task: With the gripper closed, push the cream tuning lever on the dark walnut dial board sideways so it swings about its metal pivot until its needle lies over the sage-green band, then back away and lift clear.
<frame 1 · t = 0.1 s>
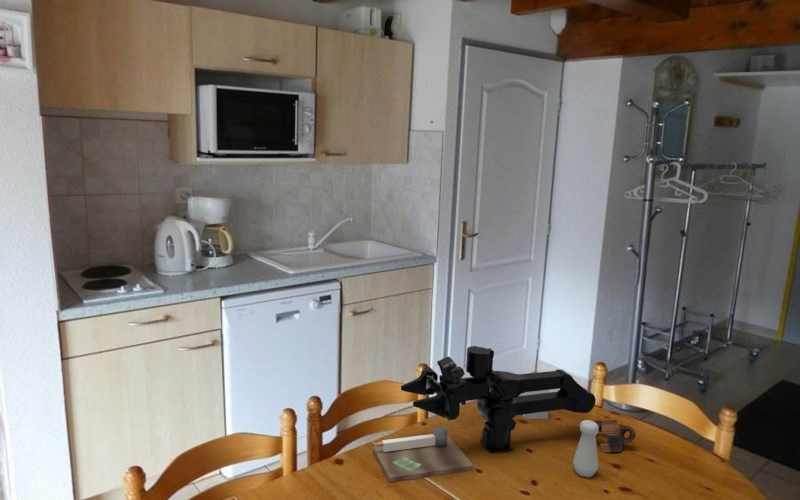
hand: (406, 395, 141), 17 cm above the table, tool horizontal, fingers open, 9 cm apart
grey block: (534, 416, 170), on the table
salt shaker: (584, 473, 141), on the table
pottery mug: (609, 445, 155), on the table
tuning lever: (412, 440, 147), point 3 cm above the table, hinge at 0.0°
dial board: (421, 460, 144), on the table
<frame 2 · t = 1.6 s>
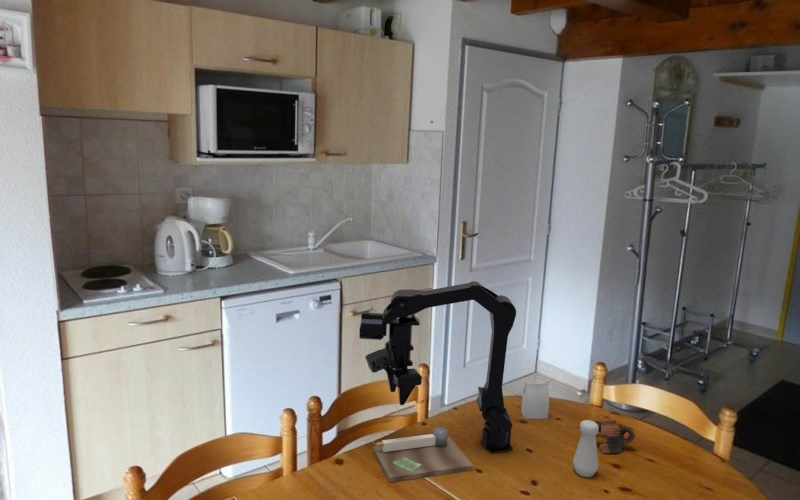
hand: (397, 398, 150), 12 cm above the table, tool pointing down, fingers open, 8 cm apart
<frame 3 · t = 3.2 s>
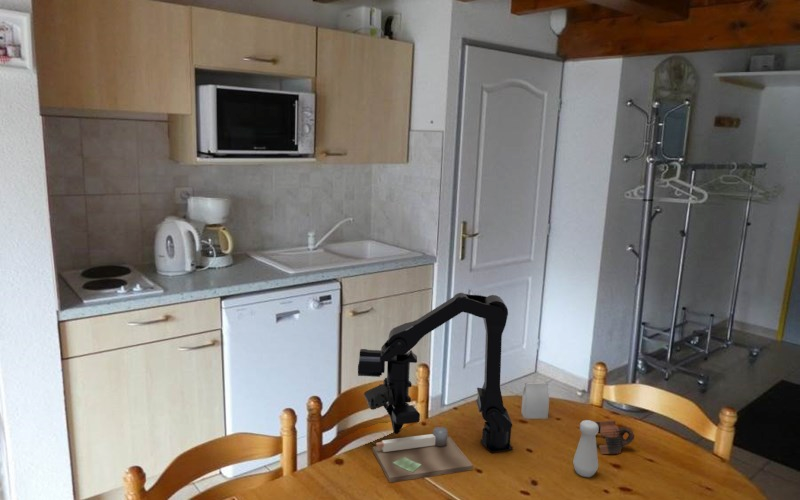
hand: (396, 433, 152), 2 cm above the table, tool pointing down, fingers closed
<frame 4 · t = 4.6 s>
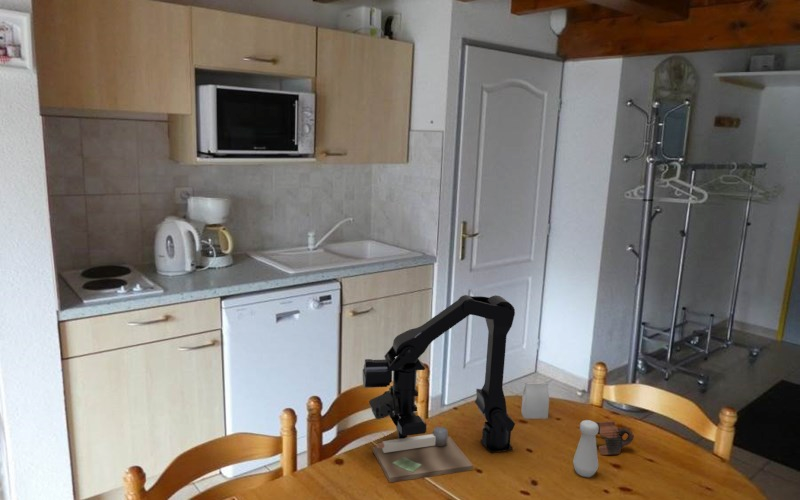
hand: (401, 442, 148), 2 cm above the table, tool pointing down, fingers closed
tuning lever: (412, 440, 147), point 3 cm above the table, hinge at 1.6°, touching gripper
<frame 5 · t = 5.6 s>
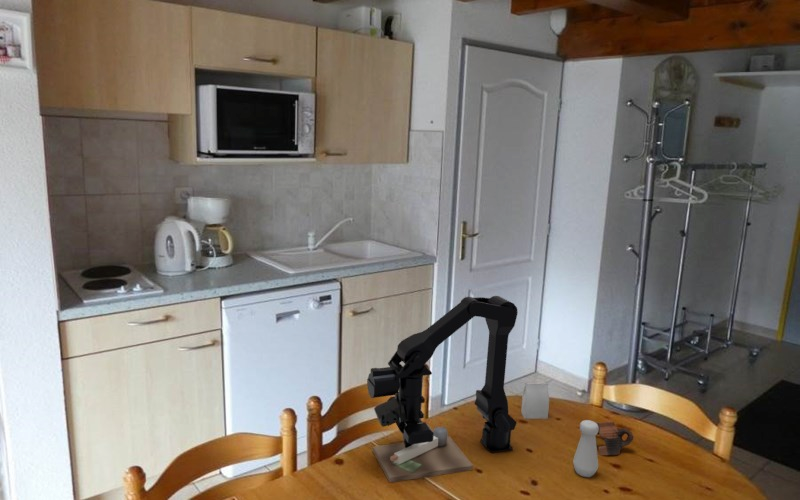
hand: (407, 449, 144), 2 cm above the table, tool pointing down, fingers closed
tuning lever: (419, 446, 144), point 3 cm above the table, hinge at 25.2°, touching gripper
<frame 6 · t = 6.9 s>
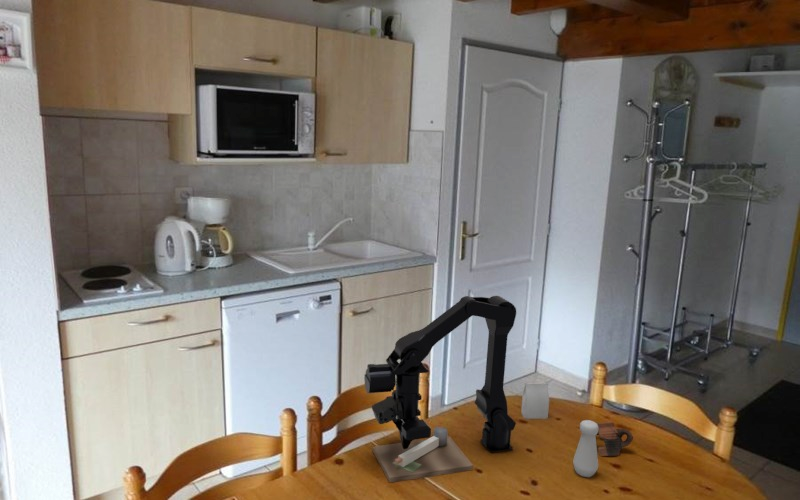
hand: (404, 448, 145), 2 cm above the table, tool pointing down, fingers closed
tuning lever: (421, 447, 144), point 3 cm above the table, hinge at 30.6°
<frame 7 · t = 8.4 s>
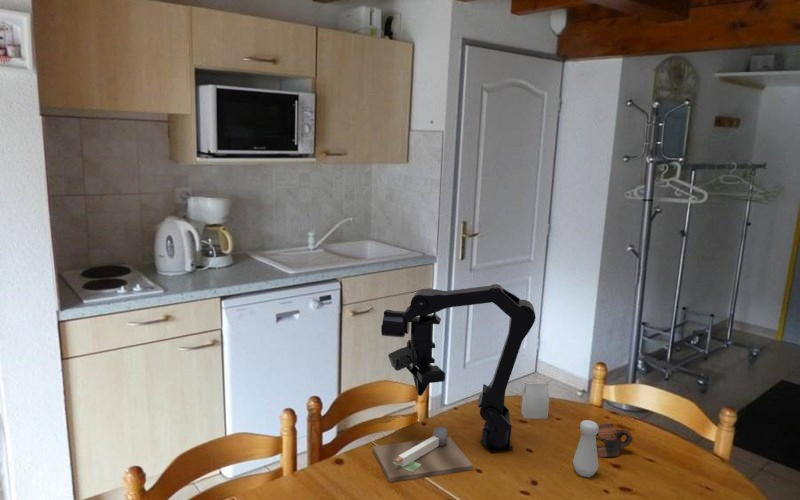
hand: (419, 395, 153), 12 cm above the table, tool pointing down, fingers closed
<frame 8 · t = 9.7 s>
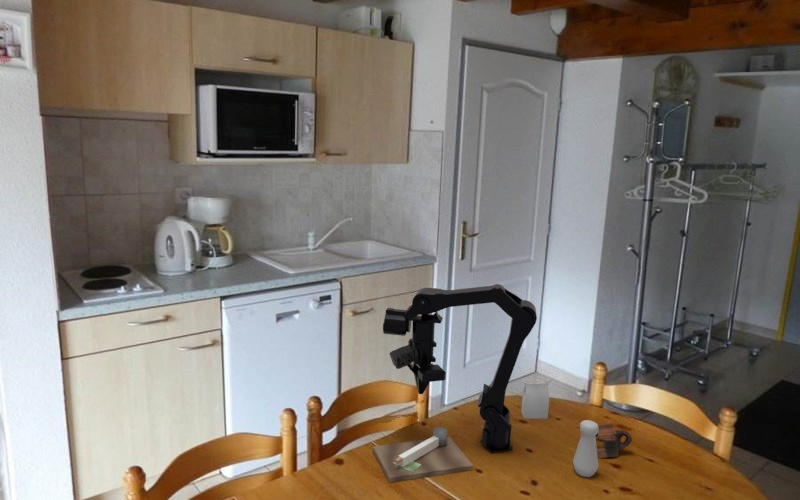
hand: (420, 393, 154), 12 cm above the table, tool pointing down, fingers closed
at the end: tuning lever at +31° (first picture: +0°); the gripper is holding nothing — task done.
